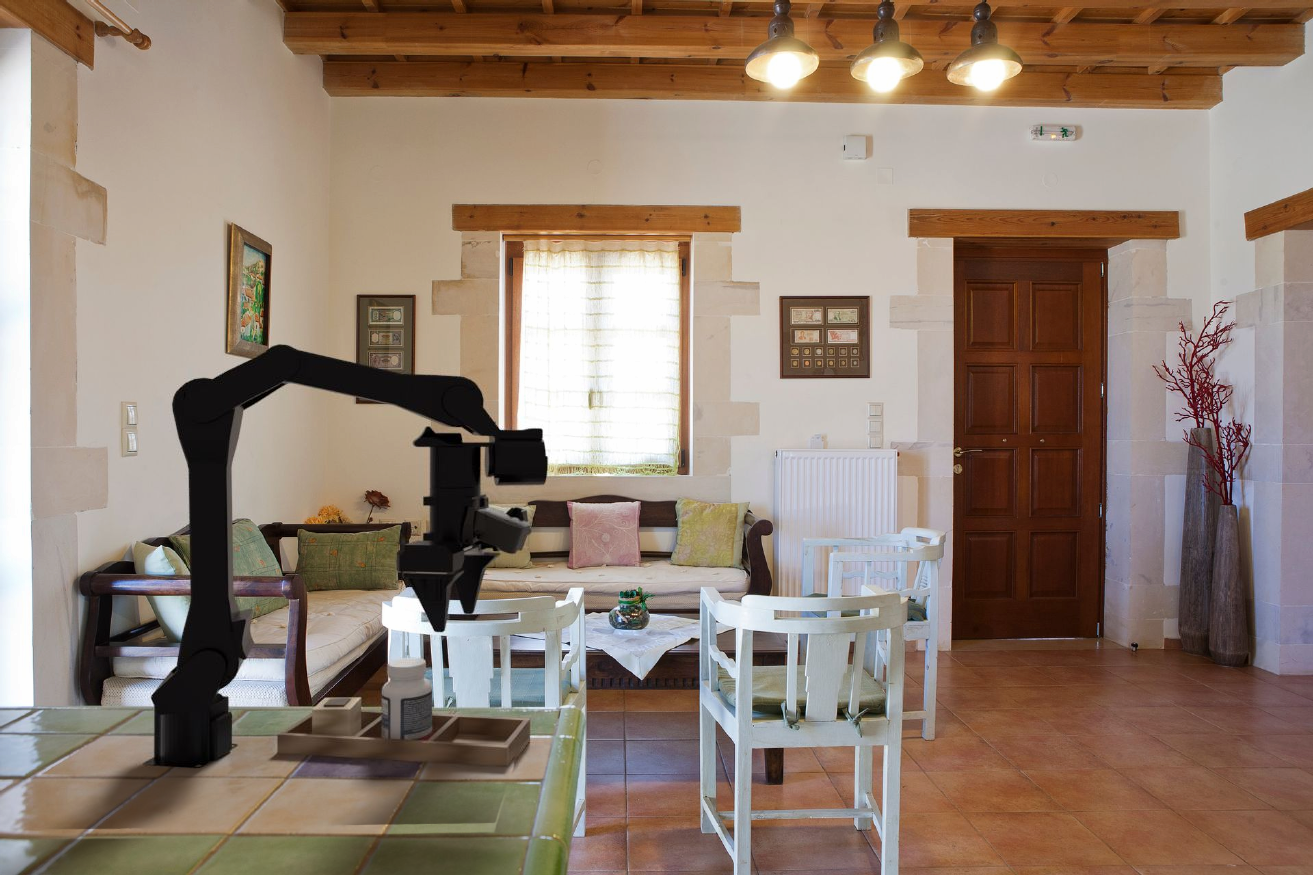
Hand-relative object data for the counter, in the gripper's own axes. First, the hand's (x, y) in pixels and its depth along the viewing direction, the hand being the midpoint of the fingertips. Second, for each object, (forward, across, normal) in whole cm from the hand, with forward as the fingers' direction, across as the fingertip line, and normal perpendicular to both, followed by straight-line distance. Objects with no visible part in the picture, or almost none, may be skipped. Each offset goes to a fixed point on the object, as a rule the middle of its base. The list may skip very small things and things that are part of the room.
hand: (454, 622), depth 96 cm
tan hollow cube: (+12, -6, +11) cm, 17 cm away
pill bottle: (+12, -6, +3) cm, 14 cm away
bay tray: (+13, -6, +3) cm, 14 cm away
